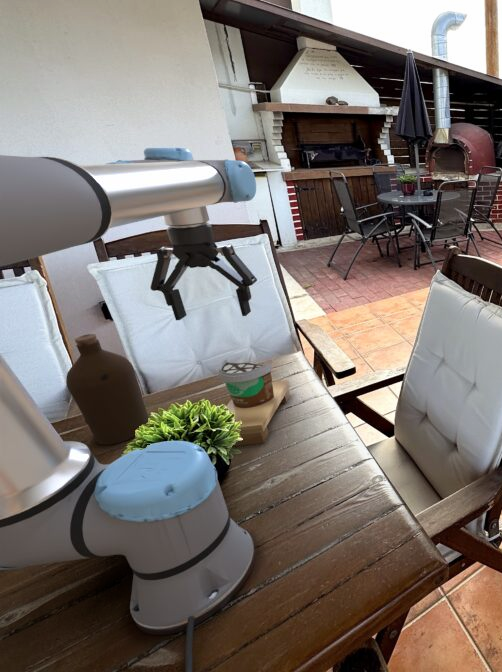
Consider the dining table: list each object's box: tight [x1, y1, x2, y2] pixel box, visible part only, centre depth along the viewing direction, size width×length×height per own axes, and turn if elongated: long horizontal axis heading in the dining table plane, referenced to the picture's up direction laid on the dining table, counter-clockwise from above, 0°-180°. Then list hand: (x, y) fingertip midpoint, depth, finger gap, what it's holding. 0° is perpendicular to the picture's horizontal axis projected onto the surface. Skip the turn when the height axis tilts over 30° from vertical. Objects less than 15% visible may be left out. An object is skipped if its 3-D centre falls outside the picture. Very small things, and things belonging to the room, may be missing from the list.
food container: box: [218, 358, 274, 408], centre depth 95 cm, size 12×6×10 cm, turn 83°
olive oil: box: [65, 333, 150, 446], centre depth 90 cm, size 11×11×25 cm
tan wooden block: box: [225, 379, 291, 447], centre depth 97 cm, size 18×11×5 cm, turn 10°
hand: (214, 315), depth 92 cm, fingers open, 13 cm apart
